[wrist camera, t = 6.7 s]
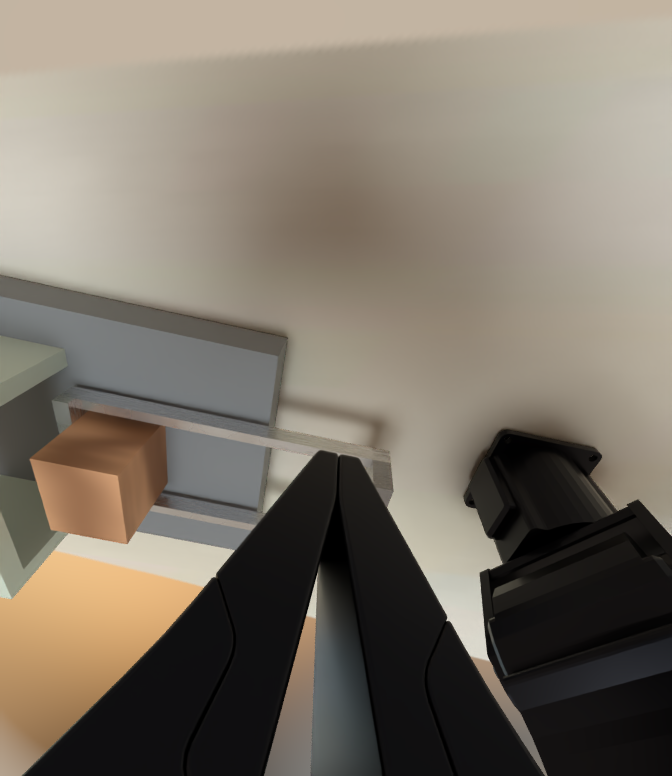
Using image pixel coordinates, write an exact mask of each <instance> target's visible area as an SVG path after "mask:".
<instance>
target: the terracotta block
mask: <svg viewBox="0 0 672 776" xmlns="http://www.w3.org/2000/svg"><path fill="white" fill-rule="evenodd" d="M30 462H31V465H32V468H33V472H34V475H35V478H36V482H37V485H38V489H39V492H40V495H41V499H42V502H43V505H44V509H45V512H46V515H47V519H48V522H49V525H50V529H51V530H54V531H60V532H65V533H70V534H76V535H81V536H86V537H92V538H97V539H102V540H108V541H113V542H118V543H123V544H128V542H129V541H130V539H131V538H132V536H133V535H134V533H135V532H136V530H137V529H138V527H139V526H140V524H141V523H142V521H143V520H144V518H145V517H146V515H147V514H148V512H149V511H150V509H151V508H152V506H153V505H154V503H155V502H156V500H157V498H158V497H159V495H160V494H161V492H162V491H163V489H164V488H165V486H166V485H167V483H168V475H167V452H166V429H165V426H162V425H157V424H152V423H147V422H142V421H138V420H133V419H128V418H123V417H118V416H113V415H108V414H103V413H98V412H93V411H88V412H86V413H85V414H84V415H83V416H81V417H80V418H79V419H78V420H76V421H75V422H74V423H73V424H71V425H70V426H69V427H68V428H67V429H65V430H64V431H63V432H62V433H60V434H59V435H58V436H57V437H55V438H54V439H53V440H52V441H51V442H49V443H48V444H47V445H46V446H44V447H43V448H42V449H41V450H39V451H38V452H37V453H36V454H34V455H33V456H32V457H31V458H30Z"/></svg>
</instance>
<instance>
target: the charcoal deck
mask: <svg viewBox="0 0 672 776" xmlns="http://www.w3.org/2000/svg"><path fill="white" fill-rule="evenodd" d="M0 336H5V337H10V338H14V339H19V340H24V341H29V342H33V343H38V344H43V345H48V346H52V347H57V348H62V349H65V355H66V360H67V365H68V366H67V367H65V368H64V369H62V370H60V371H59V372H57V373H55V374H54V375H52V376H50V377H49V378H47V379H45V380H44V381H42V382H40V383H39V384H37V385H35V386H34V387H32V388H30V389H29V390H27V391H25V392H24V393H22V394H20V395H19V396H17V397H15V398H14V399H12V400H10V401H9V402H7V403H5V404H4V405H2V406H0V475H5V476H10V477H15V478H21V479H26V480H31V481H36V478H35V475H34V472H33V468H32V465H31V462H30V458H31V457H32V456H33V455H34V454H36V453H37V452H38V451H39V450H41V449H42V448H43V447H44V446H46V445H47V444H48V443H49V442H51V441H52V440H53V439H54V438H55V437H57V436H58V435H59V430H58V426H57V422H56V417H55V413H54V409H53V404H52V400H53V399H54V398H56V397H57V396H59V395H60V394H62V393H63V392H65V391H66V390H67V389H69V388H70V387H72V386H76V387H81V388H85V389H90V390H95V391H100V392H105V393H110V394H114V395H119V396H124V397H129V398H134V399H139V400H143V401H148V402H153V403H158V404H163V405H168V406H172V407H177V408H182V409H187V410H192V411H197V412H202V413H206V414H211V415H216V416H221V417H226V418H231V419H235V420H240V421H245V422H250V423H255V424H260V425H264V426H269V427H275V420H276V413H277V406H278V400H279V393H280V386H281V379H282V372H283V366H284V359H285V352H286V345H287V339H288V338H285V337H281V336H276V335H272V334H267V333H262V332H258V331H253V330H249V329H244V328H239V327H235V326H230V325H226V324H221V323H217V322H212V321H207V320H203V319H198V318H194V317H189V316H184V315H180V314H175V313H171V312H166V311H162V310H157V309H152V308H148V307H143V306H139V305H134V304H130V303H125V302H120V301H116V300H111V299H107V298H102V297H97V296H93V295H88V294H84V293H79V292H75V291H70V290H65V289H61V288H56V287H52V286H47V285H42V284H38V283H33V282H29V281H24V280H20V279H15V278H10V277H6V276H1V275H0ZM165 429H166V452H167V475H168V483H167V485H166V486H165V488H164V489H163V491H162V492H161V493H163V494H168V495H174V496H179V497H184V498H189V499H194V500H199V501H204V502H209V503H214V504H220V505H225V506H230V507H235V508H240V509H245V510H250V511H255V512H260V513H262V508H263V501H264V494H265V488H266V481H267V474H268V467H269V460H270V454H271V448H270V447H265V446H260V445H255V444H250V443H245V442H240V441H236V440H231V439H226V438H221V437H216V436H211V435H206V434H201V433H196V432H191V431H187V430H182V429H177V428H172V427H167V426H165ZM136 531H138V532H143V533H148V534H153V535H159V536H164V537H169V538H174V539H180V540H185V541H190V542H195V543H201V544H206V545H211V546H216V547H222V548H227V549H232V550H236V549H237V548H238V547H239V545H240V544H241V543H242V542H243V541H244V539H245V538H246V537H247V536H248V534H249V533H250V532H251V530H246V529H240V528H235V527H230V526H225V525H220V524H215V523H209V522H204V521H199V520H194V519H189V518H184V517H178V516H173V515H168V514H163V513H158V512H152V511H149V512H148V514H147V515H146V517H145V518H144V520H143V521H142V523H141V524H140V526H139V527H138V529H137V530H136Z"/></svg>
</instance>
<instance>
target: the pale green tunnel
mask: <svg viewBox="0 0 672 776" xmlns="http://www.w3.org/2000/svg"><path fill="white" fill-rule="evenodd" d="M67 366H68V365H67V360H66V355H65V349H62V348H57V347H52V346H48V345H43V344H38V343H33V342H29V341H24V340H19V339H14V338H10V337H5V336H0V406H2V405H4V404H5V403H7V402H9V401H10V400H12V399H14V398H15V397H17V396H19V395H20V394H22V393H24V392H25V391H27V390H29V389H30V388H32V387H34V386H35V385H37V384H39V383H40V382H42V381H44V380H45V379H47V378H49V377H50V376H52V375H54V374H55V373H57V372H59V371H60V370H62V369H64V368H65V367H67ZM67 534H68V533H65V532H60V531H54V530H51V529H50V525H49V522H48V519H47V515H46V512H45V509H44V505H43V502H42V499H41V495H40V492H39V489H38V485H37V482H36V481H31V480H26V479H21V478H15V477H10V476H5V475H0V597H3V598H9V599H12V598H13V597H14V596H15V595H16V594H17V593H18V591H19V590H20V589H21V588H22V587H23V586H24V584H25V583H26V582H27V581H28V580H29V579H30V577H31V576H32V575H33V574H34V573H35V572H36V570H37V569H38V568H39V567H40V566H41V565H42V563H43V562H44V561H45V560H46V559H47V557H48V556H49V555H50V554H51V553H52V552H53V550H54V549H55V548H56V547H57V546H58V545H59V543H60V542H61V541H62V540H63V539H64V538H65V536H66V535H67Z"/></svg>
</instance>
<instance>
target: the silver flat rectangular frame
mask: <svg viewBox="0 0 672 776" xmlns="http://www.w3.org/2000/svg"><path fill="white" fill-rule="evenodd" d="M52 404H53V409H54V413H55V417H56V422H57V426H58V430H59V434H60V433H62V432H63V431H64V430H65V429H67V428H68V427H69V426H70V425H71V424H73V423H74V422H75V421H76V420H78V419H79V418H80V417H81V416H83V415H84V414H85V413H86V412H88V411H93V412H98V413H103V414H108V415H113V416H118V417H123V418H128V419H133V420H138V421H142V422H147V423H152V424H157V425H162V426H167V427H172V428H177V429H182V430H187V431H191V432H196V433H201V434H206V435H211V436H216V437H221V438H226V439H231V440H236V441H240V442H245V443H250V444H255V445H260V446H265V447H270V448H275V449H280V450H285V451H289V452H294V453H299V454H304V455H309V456H314V455H315V454H316V453H317V451H319V450H325V451H330V452H335V453H337V454H338V457H339V455H341V454H344V455H349V456H354V457H358V458H359V459H360V460H361V462H362V464H363V466H364V467H366V468H365V469H366V471H367V473H368V475H369V476H370V478H371V480H372V482H373V484H374V485H375V487H376V489H377V491H378V493H379V494H380V496H381V498H382V500H383V502H384V503H385V505H386V507H387V506H388V503H389V501H390V498H391V496H392V493H393V482H392V472H391V462H390V452H389V451H385V450H381V449H376V448H371V447H366V446H361V445H356V444H351V443H347V442H342V441H337V440H332V439H327V438H322V437H318V436H313V435H308V434H303V433H298V432H293V431H289V430H284V429H279V428H274V427H269V426H264V425H260V424H255V423H250V422H245V421H240V420H235V419H231V418H226V417H221V416H216V415H211V414H206V413H202V412H197V411H192V410H187V409H182V408H177V407H172V406H168V405H163V404H158V403H153V402H148V401H143V400H139V399H134V398H129V397H124V396H119V395H114V394H110V393H105V392H100V391H95V390H90V389H85V388H81V387H76V386H72V387H70V388H69V389H67V390H66V391H65V392H63V393H62V394H60V395H59V396H57V397H56V398H54V399H53V400H52ZM150 511H152V512H158V513H163V514H168V515H173V516H178V517H184V518H189V519H194V520H199V521H204V522H209V523H215V524H220V525H225V526H230V527H235V528H240V529H246V530H251V531H252V530H253V528H254V527H255V526H256V525H257V524H258V522H259V521H260V520H261V519H262V518H263V516H264V515H265V514H266V513H260V512H255V511H250V510H245V509H240V508H235V507H230V506H225V505H220V504H214V503H209V502H204V501H199V500H194V499H189V498H184V497H179V496H174V495H168V494H163V493H161V494H160V495H159V497H158V498H157V500H156V502H155V503H154V505H153V506H152V508H151V509H150Z"/></svg>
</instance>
